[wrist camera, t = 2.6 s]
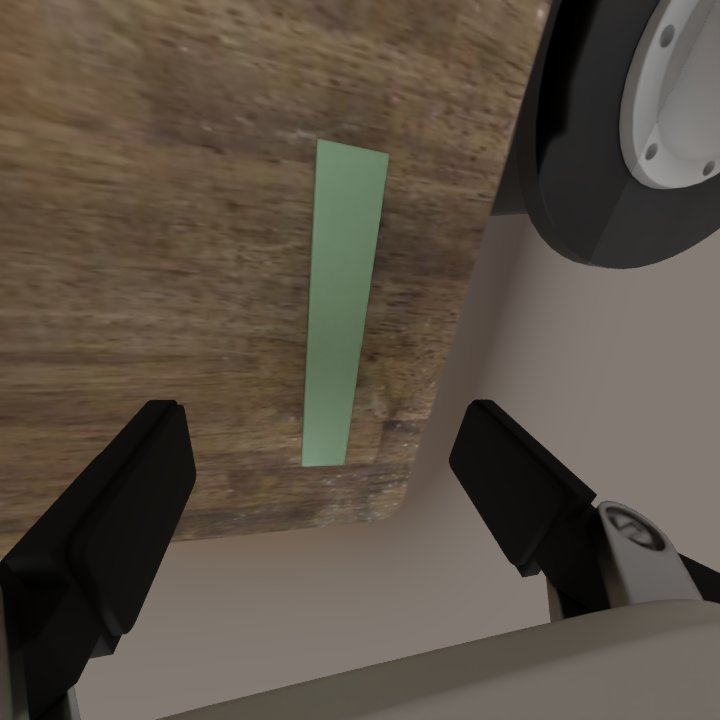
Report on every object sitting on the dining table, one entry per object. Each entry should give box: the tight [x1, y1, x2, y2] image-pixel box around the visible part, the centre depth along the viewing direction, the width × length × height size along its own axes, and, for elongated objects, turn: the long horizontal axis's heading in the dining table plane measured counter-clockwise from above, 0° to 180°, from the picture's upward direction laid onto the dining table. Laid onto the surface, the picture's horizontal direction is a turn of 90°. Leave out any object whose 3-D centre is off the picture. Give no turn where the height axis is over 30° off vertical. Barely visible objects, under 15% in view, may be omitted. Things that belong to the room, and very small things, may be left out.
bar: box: [301, 138, 389, 467], centre depth 16 cm, size 3×18×4 cm, turn 172°
